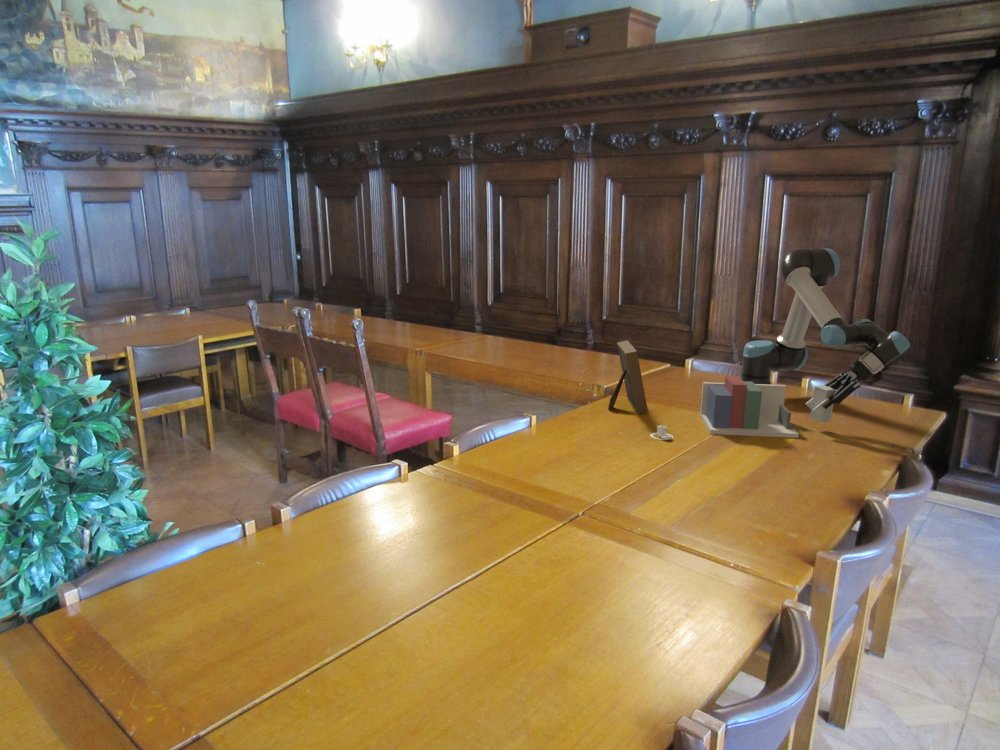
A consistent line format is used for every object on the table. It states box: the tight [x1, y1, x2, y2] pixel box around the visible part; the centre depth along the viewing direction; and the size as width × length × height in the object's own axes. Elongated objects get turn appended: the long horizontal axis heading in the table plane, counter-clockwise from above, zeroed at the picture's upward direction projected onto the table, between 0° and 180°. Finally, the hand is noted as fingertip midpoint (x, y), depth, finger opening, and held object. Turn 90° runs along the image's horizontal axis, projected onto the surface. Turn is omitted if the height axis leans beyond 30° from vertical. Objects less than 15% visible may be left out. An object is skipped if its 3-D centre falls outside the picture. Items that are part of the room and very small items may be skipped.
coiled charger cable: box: [649, 424, 674, 441], centre depth 234 cm, size 9×8×4 cm
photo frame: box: [607, 340, 649, 415], centre depth 268 cm, size 15×22×25 cm
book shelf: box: [699, 375, 800, 439], centre depth 244 cm, size 22×30×18 cm
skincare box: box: [809, 384, 837, 423], centre depth 240 cm, size 6×4×12 cm
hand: (811, 409), depth 241 cm, fingers closed on skincare box, 7 cm apart
